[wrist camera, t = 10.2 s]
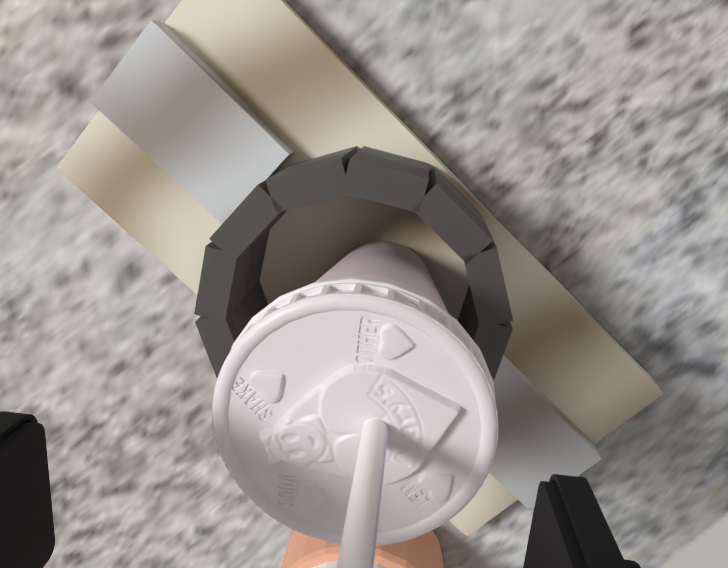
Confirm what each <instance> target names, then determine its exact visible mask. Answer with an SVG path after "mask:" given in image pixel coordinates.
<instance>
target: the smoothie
mask: <svg viewBox="0 0 728 568" xmlns="http://www.w3.org/2000/svg"><path fill="white" fill-rule="evenodd" d="M212 417H213V427H214V434H215V438H216V442H217V445H218V448H219V451H220V454H221V457H222V459H223V461H224V463H225V465H226V467H227V469H228V470H229V472H230V474H231V476H232V477H233V479H234V480H235V481H236V483H237V484H238V486H239V487H240V488H241V489H242V491H243V492H244V493H245V494H246V495H247V496H248V497H249V498H250V499H251V500H252V501H253V502H254V503H255V504H256V505H257V506H258V507H259V508H261V509H262V510H263V511H264V512H265V513H267V514H268V515H269V516H271V517H272V518H274V519H275V520H277V521H278V522H280V523H282V524H284V525H285V526H287V527H289V528H291V529H293V530H295V531H297V532H300V533H302V534H304V535H307V536H310V537H312V538H316V539H319V540H323V541H326V542H331V543H336V544H341V546H340V551H339V557H338V562H337V567H336V568H373V566H374V557H375V548H376V546H378V545H386V544H393V543H398V542H403V541H406V540H409V539H413V538H416V537H418V536H421V535H423V534H426V533H428V532H430V531H432V530H434V529H436V528H438V527H440V526H441V525H443V524H444V523H446V522H447V521H449V520H450V519H452V518H453V517H454V516H455V515H457V514H458V513H459V512H460V511H461V510H462V509H463V508H464V507H465V506H466V505H468V503H469V502H470V501H471V500H472V499H473V497H474V496H475V495H476V494H477V492H478V491H479V489H480V488H481V486H482V485H483V483H484V481H485V479H486V477H487V475H488V473H489V471H490V468H491V466H492V463H493V460H494V456H495V452H496V447H497V440H498V417H497V409H496V401H495V391H494V381H493V379H492V377H491V374H490V372H489V369H488V367H487V364H486V362H485V360H484V357H483V355H482V352H481V350H480V348H479V347H478V346H477V345H476V343H475V342H474V341H473V339H472V338H471V337H470V336H469V334H468V333H467V332H466V331H465V329H464V328H463V327H462V326H461V324H460V323H459V322H458V321H457V320H456V319H455V318H453V317H452V316H451V315H449V313H448V311H447V309H446V307H445V305H444V303H443V300H442V298H441V296H440V294H439V292H438V290H437V288H436V286H435V283H434V281H433V279H432V277H431V275H430V273H429V271H428V269H427V267H426V265H425V264H424V262H423V261H422V260H421V258H420V257H419V256H418V255H417V254H416V253H414V252H413V251H412V250H410V249H409V248H407V247H405V246H403V245H400V244H398V243H394V242H389V241H375V242H370V243H366V244H363V245H361V246H359V247H357V248H355V249H354V250H352V251H351V252H350V253H349V254H348V255H346V256H345V257H344V258H343V259H342V260H340V261H339V262H338V263H337V264H336V265H335V266H333V267H332V268H331V269H330V270H329V271H327V272H326V273H325V274H324V275H323V276H322V277H320V278H319V279H318V280H317V281H316V282H314V283H311V284H309V285H306V286H304V287H301V288H299V289H296V290H294V291H291V292H289V293H286V294H284V295H281V296H279V297H278V298H277V299H275V300H274V301H273V302H272V303H270V304H269V305H268V306H266V307H265V308H264V309H262V310H261V311H260V312H259V313H257V314H256V315H255V316H253V317H252V318H251V320H250V321H249V322H248V324H247V325H246V327H245V328H244V329H243V331H242V332H241V334H240V335H239V336H238V338H237V339H236V340H235V342H234V343H233V345H232V348H231V351H230V353H229V354H228V356H227V358H226V359H225V361H224V363H223V366H222V368H221V370H220V372H219V375H218V378H217V382H216V385H215V390H214V395H213V406H212Z"/></svg>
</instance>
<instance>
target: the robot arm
mask: <svg viewBox="0 0 728 568" xmlns="http://www.w3.org/2000/svg"><path fill="white" fill-rule="evenodd" d="M54 545H55V535H54V524H53V513H52V503H51V492H50V481H49V471H48V460H47V449H46V439H45V430H44V427H43V425H42V424H40V423H38V422H37V419H36V418H35V416H33V415H31V414H22V413H13V412H0V568H43V567H44V565H45V564H46V563H47V562H48V560H49V559H50V557H51V555H52V552H53V549H54ZM523 568H641V567H640V566H639V564H638V563H636V562H635V561H631V560H624V559H623V557H622V554H621V552H620V550H619V548H618V546H617V544H616V541H615V539H614V537H613V535H612V533H611V531H610V528H609V526H608V524H607V522H606V520H605V518H604V515H603V513H602V511H601V509H600V507H599V504H598V502H597V500H596V498H595V496H594V494H593V491H592V489H591V487H590V485H589V483H588V481H587V479H586V478H584V477H577V476H568V475H559V474H553V475H551V477H550V480H549V482H548V481H541V482H540V483H539V486H538V491H537V496H536V502H535V507H534V513H533V518H532V524H531V529H530V534H529V540H528V545H527V551H526V556H525V561H524V567H523Z"/></svg>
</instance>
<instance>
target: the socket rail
mask: <svg viewBox="0 0 728 568" xmlns="http://www.w3.org/2000/svg"><path fill="white" fill-rule="evenodd" d="M91 103H92V104H93V105H94V106H95V107H96V108H97V109H98V110H99V111H98V112H97V114H96V115H95V116H94V118H93V119H92V120H91V122H90V123H89V124H88V126H87V127H86V128H85V130H84V131H83V132H82V134H81V135H80V136H79V138H78V139H77V140H76V142H75V143H74V144H73V146H72V147H71V148H70V150H69V151H68V152H67V154H66V155H65V156H64V158H63V159H62V160H61V162H60V163H59V164H58V166H57V167H56V168H57V169H58V170H59V171H60V172H61V173H62V174H63V175H64V176H66V177H67V178H68V179H69V180H70V181H71V182H72V183H73V184H74V185H76V186H77V187H78V188H79V189H80V190H81V191H82V192H83V193H84V194H86V195H87V196H88V197H89V198H90V199H91V200H92V201H93V202H95V203H96V204H97V205H98V206H99V207H100V208H101V209H102V210H103V211H105V212H106V213H107V214H108V215H109V216H110V217H111V218H112V219H113V220H115V221H116V222H117V223H118V224H119V225H120V226H121V227H122V228H123V229H125V230H126V231H127V232H128V233H129V234H130V235H131V236H132V237H133V238H135V239H136V240H137V241H138V242H139V243H140V244H141V245H142V246H144V247H145V248H146V249H147V250H148V251H149V252H150V253H151V254H152V255H154V256H155V257H156V258H157V259H158V260H159V261H160V262H161V263H162V264H164V265H165V266H166V267H167V268H168V269H169V270H170V271H171V272H172V273H174V274H175V275H176V276H177V277H178V278H179V279H180V280H181V281H182V282H184V283H185V284H186V285H187V286H188V287H189V288H190V289H191V290H193V291H194V292H195V293H196V294H197V301H196V307H195V313H194V314H195V315H199V316H201V317H200V318H199V319H198V320H197V321H196V322H195V323H196V325H197V328H198V330H199V333H200V336H201V338H202V341H203V343H204V346H205V348H206V351H207V354H208V356H209V359H210V361H211V364H212V366H213V369H214V372H215V374H216V377H217V378H218V375H219V372H220V370H221V368H222V366H223V363H224V361H225V359H226V358H227V356H228V354H229V353H230V351H231V348H232V345H233V343H234V342H235V340H236V339H237V338H238V336H239V335H240V334H241V332H242V331H243V329H244V328H245V327H246V325H247V324H248V322H249V321H250V320H251V318H252V317H253V316H255V315H256V314H257V313H259V312H260V311H261V310H262V309H264V308H265V307H266V306H268V305H269V304H270V303H272V302H273V301H274V300H275V299H277V298H278V297H279V296H281V295H284V294H286V293H289V292H291V291H294V290H296V289H299V288H301V287H304V286H306V285H309V284H311V283H314V282H316V281H317V280H318V279H319V278H320V277H322V276H323V275H324V274H325V273H326V272H327V271H329V270H330V269H331V268H332V267H333V266H335V265H336V264H337V263H338V262H339V261H340V260H342V259H343V258H344V257H345V256H346V255H348V254H349V253H350V252H351V251H352V250H354V249H355V248H357V247H359V246H361V245H363V244H366V243H370V242H375V241H389V242H394V243H398V244H400V245H403V246H405V247H407V248H409V249H410V250H412V251H413V252H414V253H416V254H417V255H418V256H419V257H420V258H421V260H422V261H423V262H424V264H425V265H426V267H427V269H428V271H429V273H430V275H431V277H432V279H433V281H434V283H435V286H436V288H437V290H438V292H439V294H440V296H441V298H442V300H443V303H444V305H445V307H446V309H447V311H448V313H449V315H451V316H452V317H453V318H455V319H456V320H457V321H458V322H459V323H460V324H461V326H462V327H463V328H464V329H465V331H466V332H467V333H468V334H469V336H470V337H471V338H472V339H473V341H474V342H475V343H476V345H477V346H478V347H479V348H480V350H481V352H482V355H483V357H484V360H485V362H486V364H487V367H488V369H489V372H490V374H491V377H492V379H493V381H494V391H495V401H496V409H497V417H498V440H497V447H496V452H495V456H494V460H493V463H492V466H491V468H490V471H489V473H488V475H487V477H486V479H485V481H484V483H483V485H482V486H481V488H480V489H479V491H478V492H477V494H476V495H475V496H474V497H473V499H472V500H471V501H470V502H469V503H468V505H466V506H465V507H464V508H463V509H462V510H461V511H460V512H459V513H458V514H457V515H455V516H454V517H453V518H452V519H450V520H449V521H450V522H451V523H452V524H453V525H454V526H455V527H456V528H458V529H459V530H460V531H461V532H462V533H463V534H464V535H465V536H466V537H467V536H468V535H470V534H471V533H473V532H474V531H475V530H477V529H478V528H480V527H481V526H482V525H484V524H485V523H486V522H488V521H489V520H491V519H492V518H493V517H495V516H496V515H497V514H499V513H500V512H502V511H503V510H504V509H506V508H507V507H509V506H510V505H511V504H513V503H514V502H515V501H517V500H519V501H520V502H521V503H522V504H523V505H524V506H526V507H527V508H528V509H529V510H531V509H533V508H534V507H535V502H536V496H537V491H538V486H539V483H540V482H541V481H548V482H549V480H550V477H551V475H553V474H559V475H568V476H577V477H578V476H579V475H581V474H582V473H583V472H585V471H586V470H588V469H589V468H590V467H592V466H593V465H595V464H596V463H597V462H599V461H600V460H602V458H601V456H600V454H599V452H598V450H597V448H596V446H595V444H596V443H597V442H598V441H600V440H601V439H602V438H604V437H605V436H607V435H608V434H609V433H611V432H612V431H614V430H615V429H616V428H618V427H619V426H620V425H622V424H623V423H625V422H626V421H627V420H629V419H630V418H631V417H633V416H634V415H636V414H637V413H638V412H640V411H641V410H643V409H644V408H645V407H647V406H648V405H649V404H651V403H652V402H654V401H655V400H656V399H658V398H659V397H660V396H662V395H663V394H664V392H663V391H662V390H661V389H660V387H659V386H658V385H657V384H656V382H655V381H654V380H653V379H652V377H651V376H650V375H649V374H648V373H647V372H646V371H645V370H644V369H643V368H642V367H641V366H640V365H639V364H638V363H637V362H636V361H635V359H634V358H633V357H632V356H631V355H630V354H629V353H628V352H627V351H626V350H625V349H624V348H623V347H622V346H621V345H620V344H619V343H618V342H617V341H616V340H615V339H614V338H613V337H612V336H611V335H610V334H609V333H608V332H607V331H606V330H605V329H604V328H603V327H602V326H601V325H600V324H599V323H598V322H597V320H596V319H595V318H594V317H593V316H592V315H591V314H590V313H589V312H588V311H587V310H586V309H585V308H584V307H583V306H582V305H581V304H580V303H579V302H578V301H577V300H576V299H575V298H574V297H573V296H572V295H571V294H570V293H569V292H568V291H567V290H566V289H565V288H564V287H563V286H562V285H561V284H560V283H559V282H558V280H557V279H556V278H555V277H554V276H553V275H552V274H551V273H550V272H549V271H548V270H547V269H546V268H545V267H544V266H543V265H542V264H541V263H540V262H539V261H538V260H537V259H536V258H535V257H534V256H533V255H532V254H531V253H530V252H529V251H528V250H527V249H526V248H525V247H524V246H523V245H522V244H521V243H520V241H519V240H518V239H517V238H516V237H515V236H514V235H513V234H512V233H511V232H510V231H509V230H508V229H507V228H506V227H505V226H504V225H503V224H502V223H501V222H500V221H499V220H498V219H497V218H496V217H495V216H494V215H493V214H492V213H491V212H490V211H489V210H488V209H487V208H486V207H485V206H484V205H483V204H482V203H481V201H480V200H479V199H478V198H477V197H476V196H475V195H474V194H473V193H472V192H471V191H470V190H469V189H468V188H467V187H466V186H465V185H464V184H463V183H462V182H461V181H460V180H459V179H458V178H457V177H456V176H455V175H454V174H453V173H452V172H451V171H450V170H449V169H448V168H447V167H446V166H445V165H444V164H443V162H442V161H441V160H440V159H439V158H438V157H437V156H436V155H435V154H434V153H433V152H432V151H431V150H430V149H429V148H428V147H427V146H426V145H425V144H424V143H423V142H422V141H421V140H420V139H419V138H418V137H417V136H416V135H415V134H414V133H413V132H412V131H411V130H410V129H409V128H408V127H407V126H406V125H405V124H404V122H403V121H402V120H401V119H400V118H399V117H398V116H397V115H396V114H395V113H394V112H393V111H392V110H391V109H390V108H389V107H388V106H387V105H386V104H385V103H384V102H383V101H382V100H381V99H380V98H379V97H378V96H377V95H376V94H375V93H374V92H373V91H372V90H371V89H370V88H369V87H368V86H367V85H366V83H365V82H364V81H363V80H362V79H361V78H360V77H359V76H358V75H357V74H356V73H355V72H354V71H353V70H352V69H351V68H350V67H349V66H348V65H347V64H346V63H345V62H344V61H343V60H342V59H341V58H340V57H339V56H338V55H337V54H336V53H335V52H334V51H333V50H332V49H331V48H330V47H329V46H328V45H327V43H326V42H325V41H324V40H323V39H322V38H321V37H320V36H319V35H318V34H317V33H316V32H315V31H314V30H313V29H312V28H311V27H310V26H309V25H308V24H307V23H306V22H305V21H304V20H303V19H302V18H301V17H300V16H299V15H298V14H297V13H296V12H295V11H294V10H293V9H292V8H291V7H290V6H289V4H288V3H287V2H286V1H285V0H182V1H181V2H180V3H179V5H178V6H177V7H176V9H175V10H174V11H173V13H172V14H171V15H170V17H169V18H168V19H167V21H166V22H165V23H161V22H157V21H154V20H151V21H150V22H149V24H148V25H147V26H146V28H145V29H144V30H143V32H142V33H141V34H140V36H139V37H138V38H137V40H136V41H135V42H134V44H133V45H132V47H131V48H130V49H129V51H128V52H127V53H126V55H125V56H124V57H123V59H122V60H121V61H120V63H119V64H118V65H117V67H116V68H115V69H114V71H113V72H112V73H111V75H110V76H109V78H108V79H107V80H106V82H105V83H104V84H103V86H102V87H101V88H100V90H99V91H98V92H97V94H96V95H95V96H94V98H93V99H92V100H91Z"/></svg>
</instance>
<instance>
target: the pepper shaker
mask: <svg viewBox="0 0 728 568" xmlns="http://www.w3.org/2000/svg"><path fill="white" fill-rule="evenodd" d="M340 546H341V544H336V543H331V542H326V541H323V540H319V539H316V538H312V537H310V536H307V535H304V534H302V533H300V532H297V531H295V530H294V531H293V533H292V535H291V538H290V541H289V544H288V547H287V551H286V554H285V557H284V561H283V564H282V567H281V568H336V567H337V562H338V557H339V551H340ZM373 568H444V567H443V557H442V552H441V547H440V542H439V539H438V538H437V536H436V535H435V533H434V531H433V530H432V531H430V532H428V533H426V534H423V535H421V536H418V537H416V538H413V539H409V540H406V541H403V542H398V543H393V544H386V545H378V546H376V548H375V557H374V566H373Z"/></svg>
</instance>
